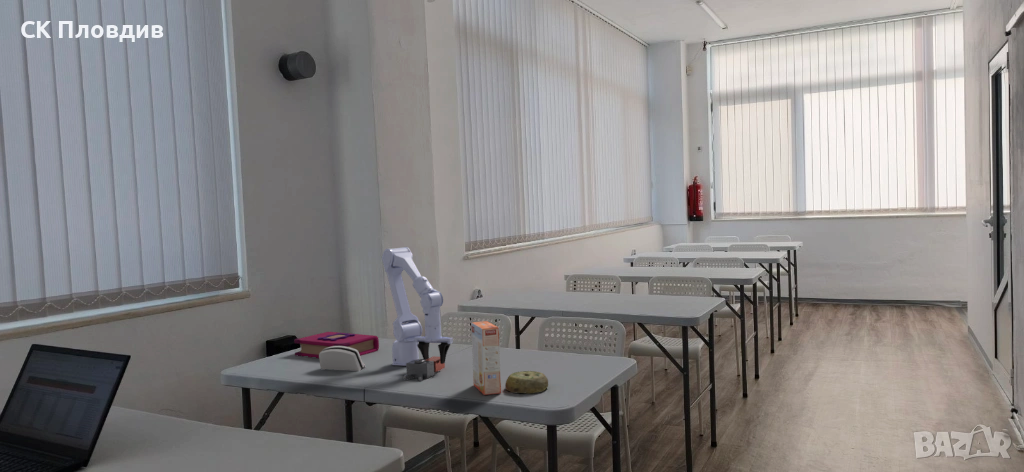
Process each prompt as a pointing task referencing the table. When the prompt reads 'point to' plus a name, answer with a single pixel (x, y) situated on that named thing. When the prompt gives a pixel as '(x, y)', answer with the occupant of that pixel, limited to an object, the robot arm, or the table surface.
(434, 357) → the red notched block
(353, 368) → the white napkin holder
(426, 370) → the coupler
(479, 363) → the cracker box
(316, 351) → the book
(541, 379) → the greenish tan ring
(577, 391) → the table surface
